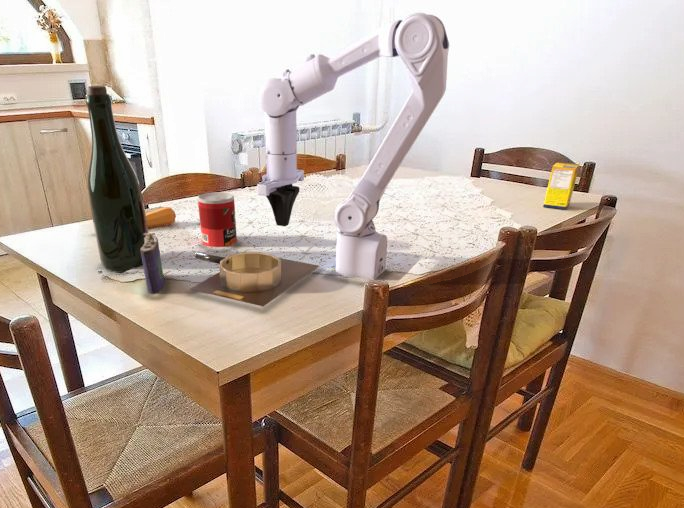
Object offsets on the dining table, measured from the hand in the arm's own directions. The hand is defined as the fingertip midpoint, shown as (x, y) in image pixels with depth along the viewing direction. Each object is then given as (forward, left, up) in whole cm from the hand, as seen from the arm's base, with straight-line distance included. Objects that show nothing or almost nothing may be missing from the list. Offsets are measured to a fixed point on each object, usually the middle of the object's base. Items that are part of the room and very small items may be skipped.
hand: (282, 224), depth 106 cm
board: (0, +10, -8) cm, 13 cm away
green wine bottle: (+29, +15, -9) cm, 34 cm away
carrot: (+45, -5, -9) cm, 46 cm away
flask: (+15, +22, -9) cm, 28 cm away
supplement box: (-45, -75, -9) cm, 88 cm away
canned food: (+19, -4, -9) cm, 21 cm away
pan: (+4, +12, -7) cm, 15 cm away
